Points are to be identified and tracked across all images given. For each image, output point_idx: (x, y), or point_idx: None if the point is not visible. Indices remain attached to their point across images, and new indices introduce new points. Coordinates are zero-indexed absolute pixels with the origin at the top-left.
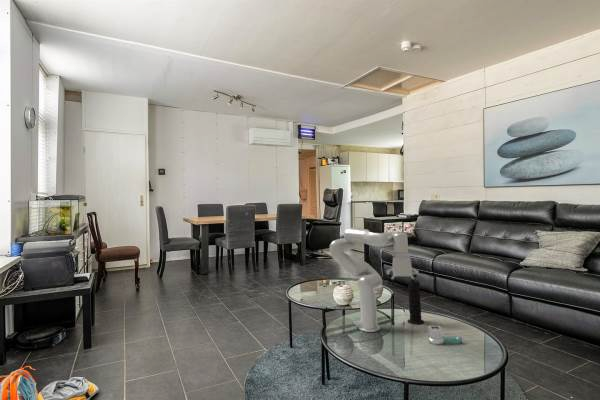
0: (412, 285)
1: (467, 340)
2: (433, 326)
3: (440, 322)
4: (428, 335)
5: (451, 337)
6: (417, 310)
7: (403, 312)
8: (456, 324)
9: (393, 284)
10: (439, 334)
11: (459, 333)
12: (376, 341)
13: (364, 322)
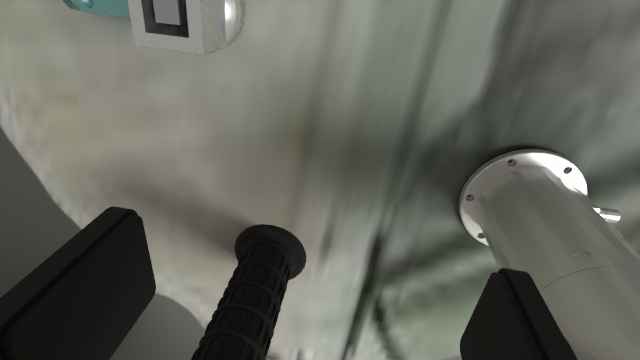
0: (106, 219)
1: (58, 30)
2: (174, 35)
3: (170, 240)
4: (230, 34)
5: (111, 3)
6: (243, 280)
7: (304, 343)
8: None
9: (545, 304)
10: None
11: (95, 119)
12: (549, 7)
13: (580, 195)
